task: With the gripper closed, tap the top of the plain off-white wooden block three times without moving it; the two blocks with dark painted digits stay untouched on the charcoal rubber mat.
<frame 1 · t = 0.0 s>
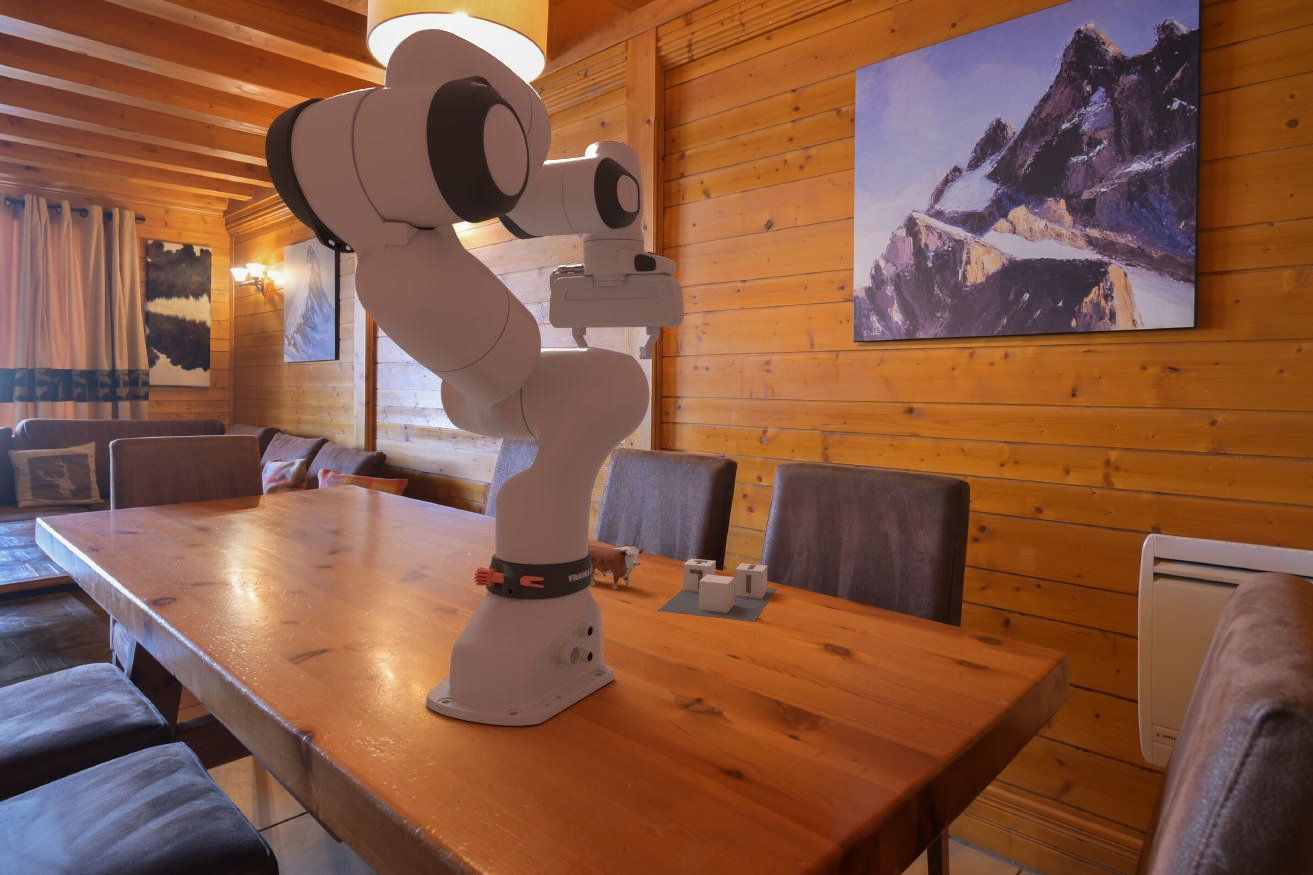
hand: (616, 359, 109), 39 cm above the table, tool pointing down, fingers open, 8 cm apart
digit block 1: (750, 593, 124), point 1 cm above the table, touching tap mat
digit block 7: (699, 588, 127), point 1 cm above the table, touching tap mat
bull figurine: (611, 590, 127), on the table
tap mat: (720, 602, 120), on the table
plain block: (716, 607, 115), point 1 cm above the table, touching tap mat
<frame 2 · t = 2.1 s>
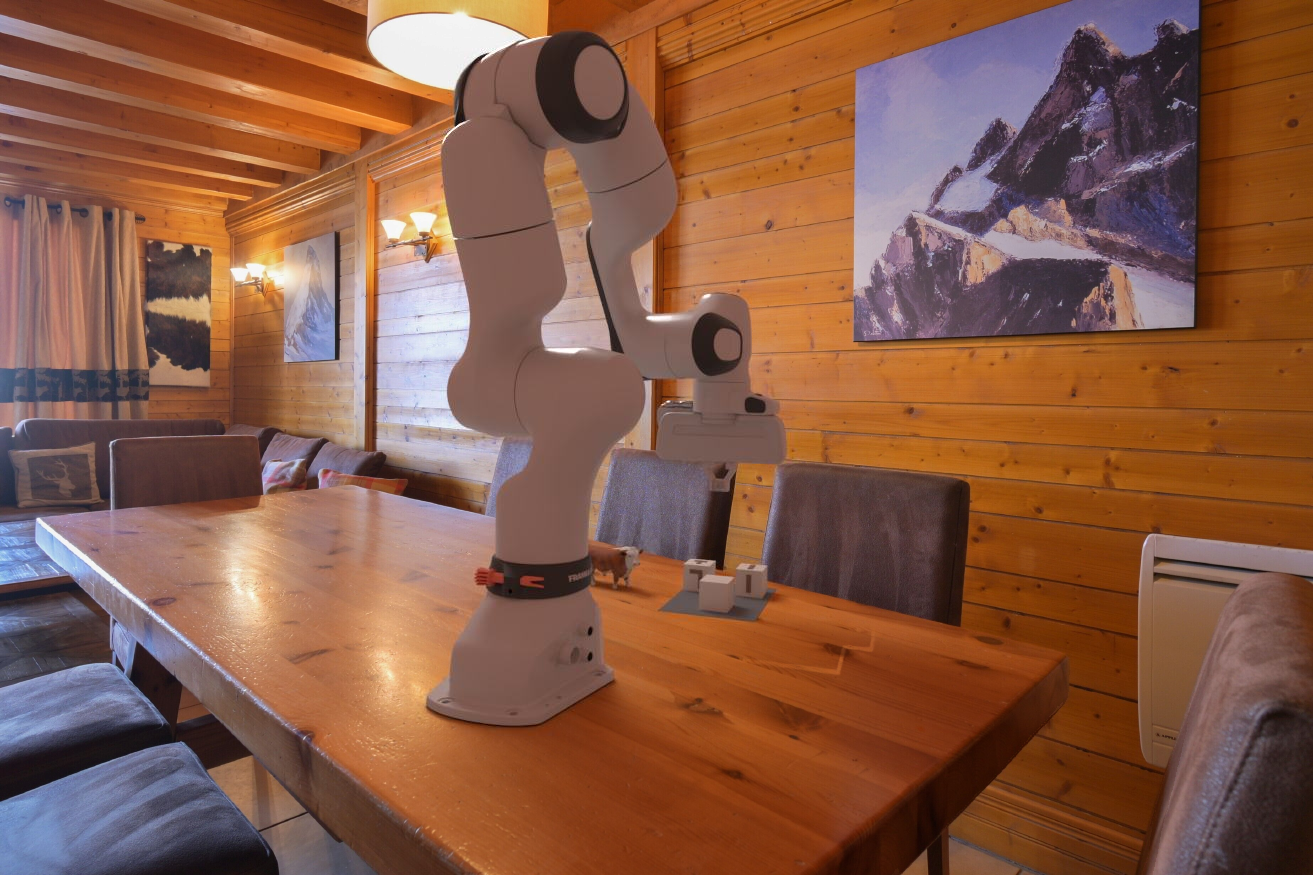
hand: (719, 490, 114), 19 cm above the table, tool pointing down, fingers closed
nothing on the table moved.
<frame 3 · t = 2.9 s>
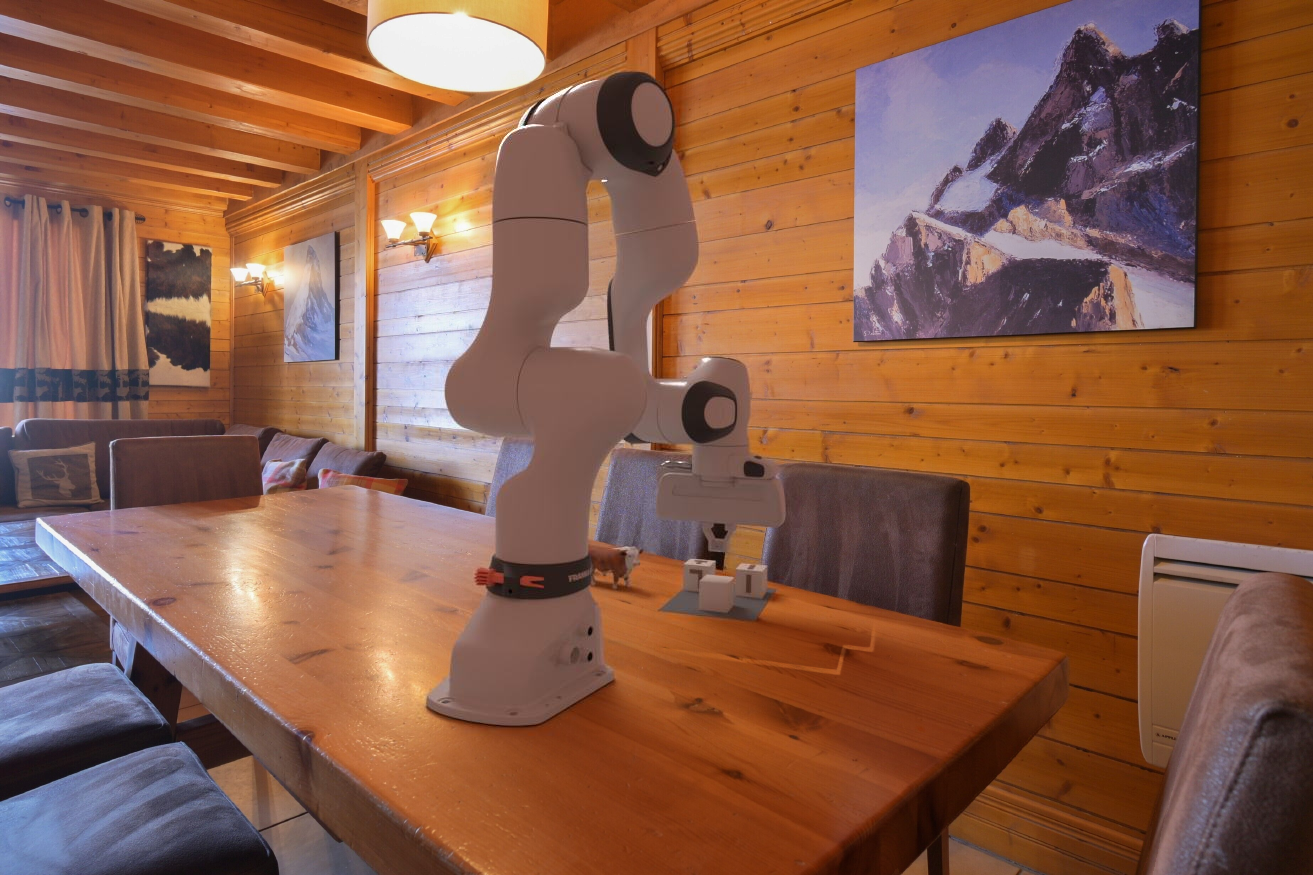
hand: (718, 551, 115), 9 cm above the table, tool pointing down, fingers closed
nothing on the table moved.
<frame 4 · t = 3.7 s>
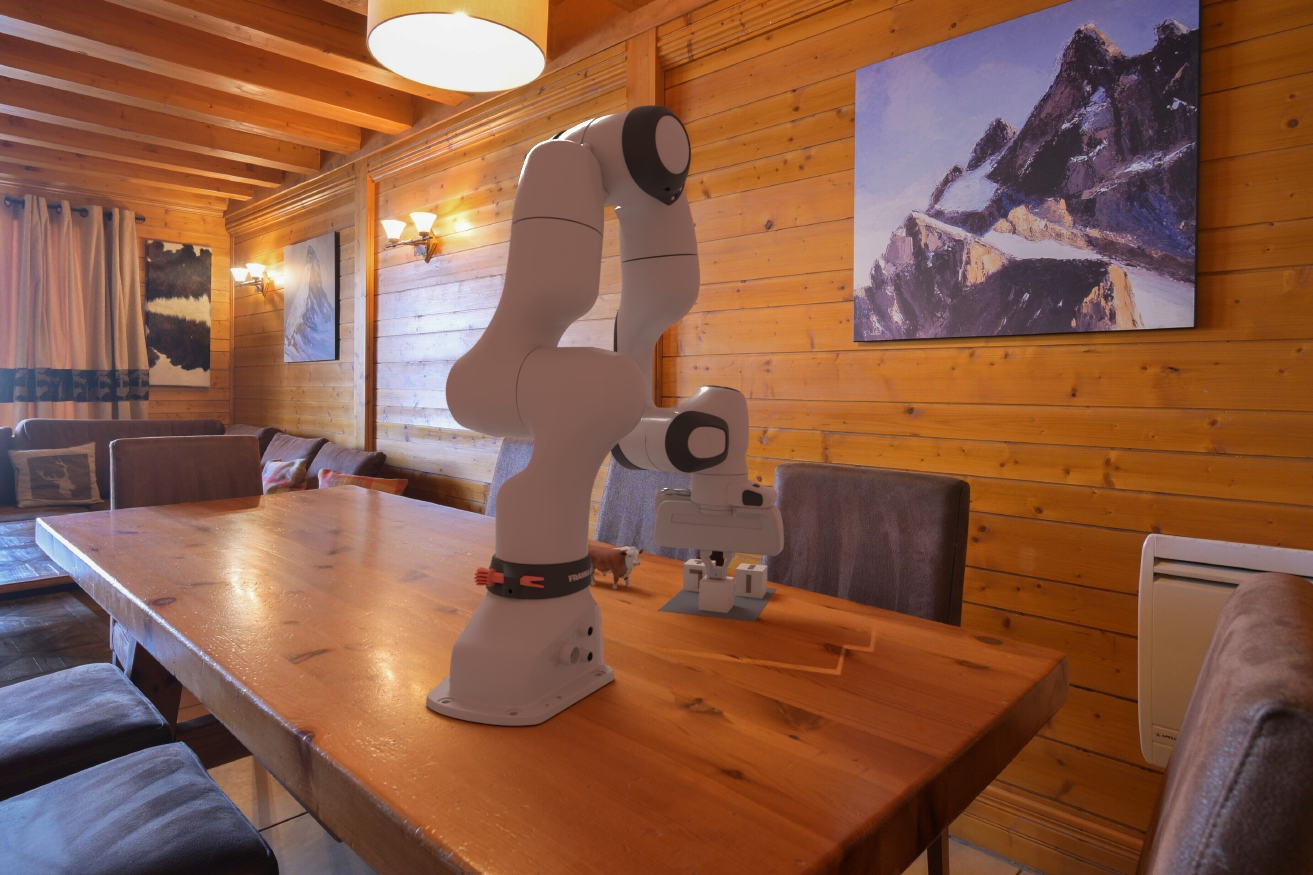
hand: (716, 578, 115), 5 cm above the table, tool pointing down, fingers closed, pressing on plain block
plain block: (716, 607, 115), point 1 cm above the table, touching gripper, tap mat
everything else where it was.
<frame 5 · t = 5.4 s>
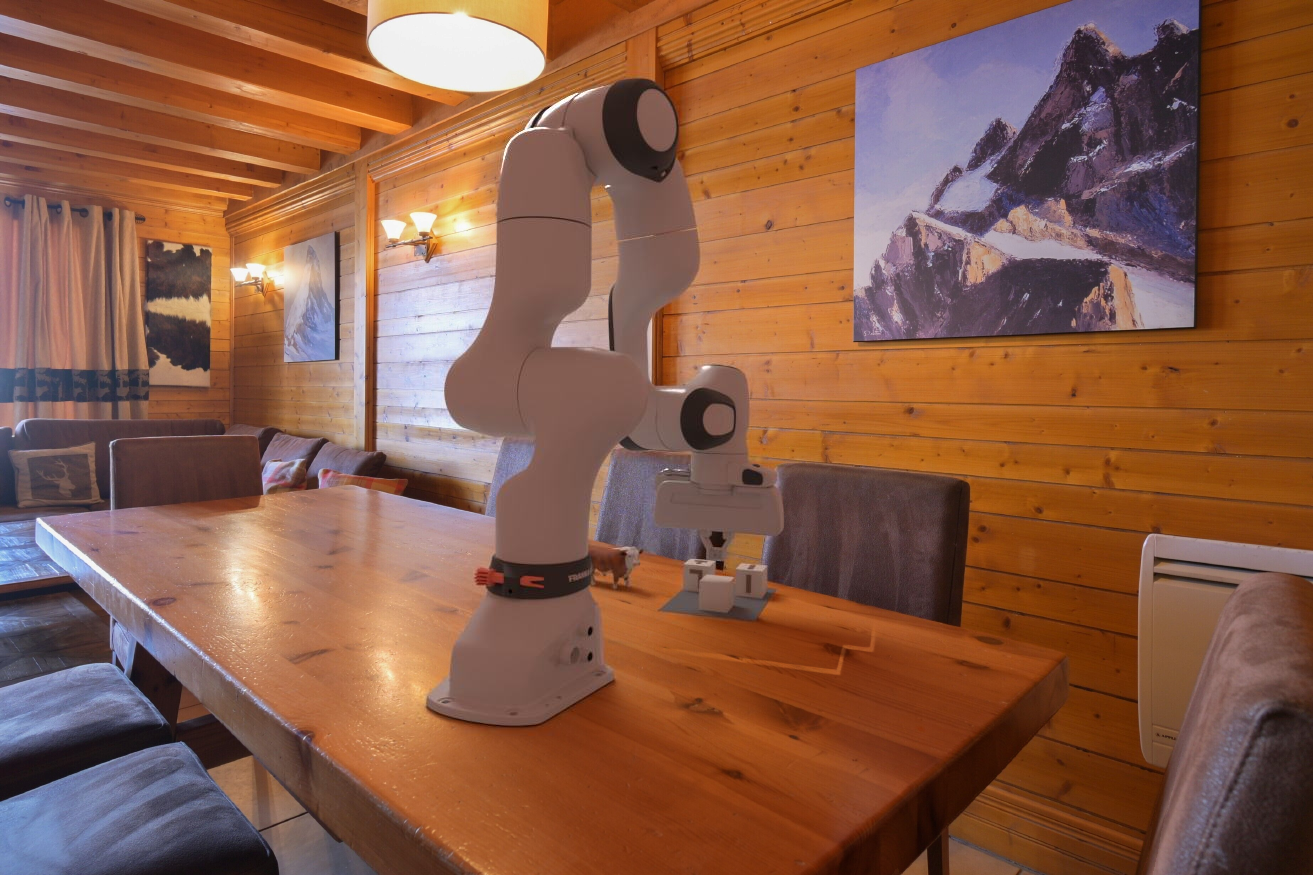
hand: (716, 559, 114), 8 cm above the table, tool pointing down, fingers closed
plain block: (716, 607, 115), point 1 cm above the table, touching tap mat
everything else where it was.
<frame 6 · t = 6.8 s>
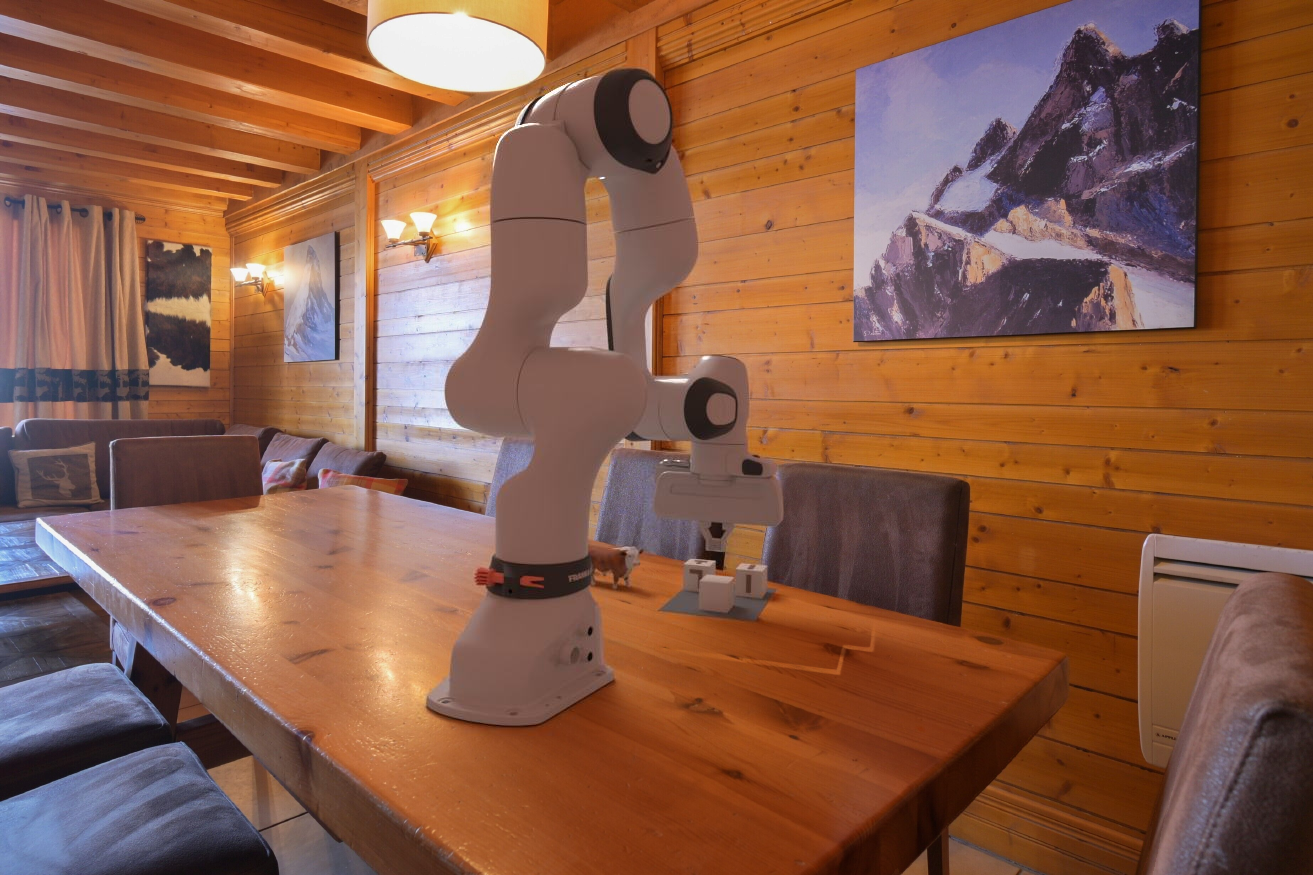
hand: (715, 550, 114), 10 cm above the table, tool pointing down, fingers closed
nothing on the table moved.
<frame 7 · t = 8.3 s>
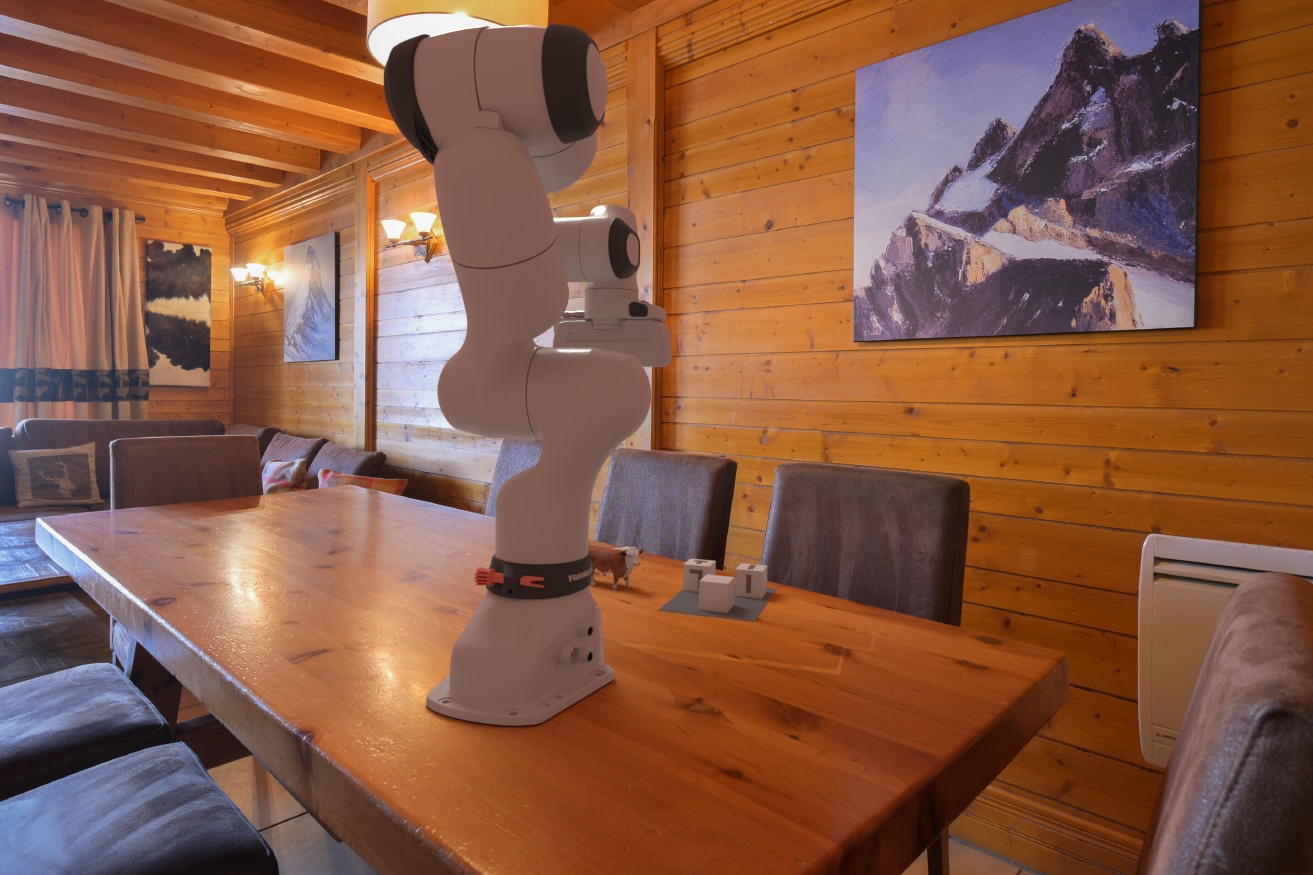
hand: (610, 394, 121), 34 cm above the table, tool pointing down, fingers closed
nothing on the table moved.
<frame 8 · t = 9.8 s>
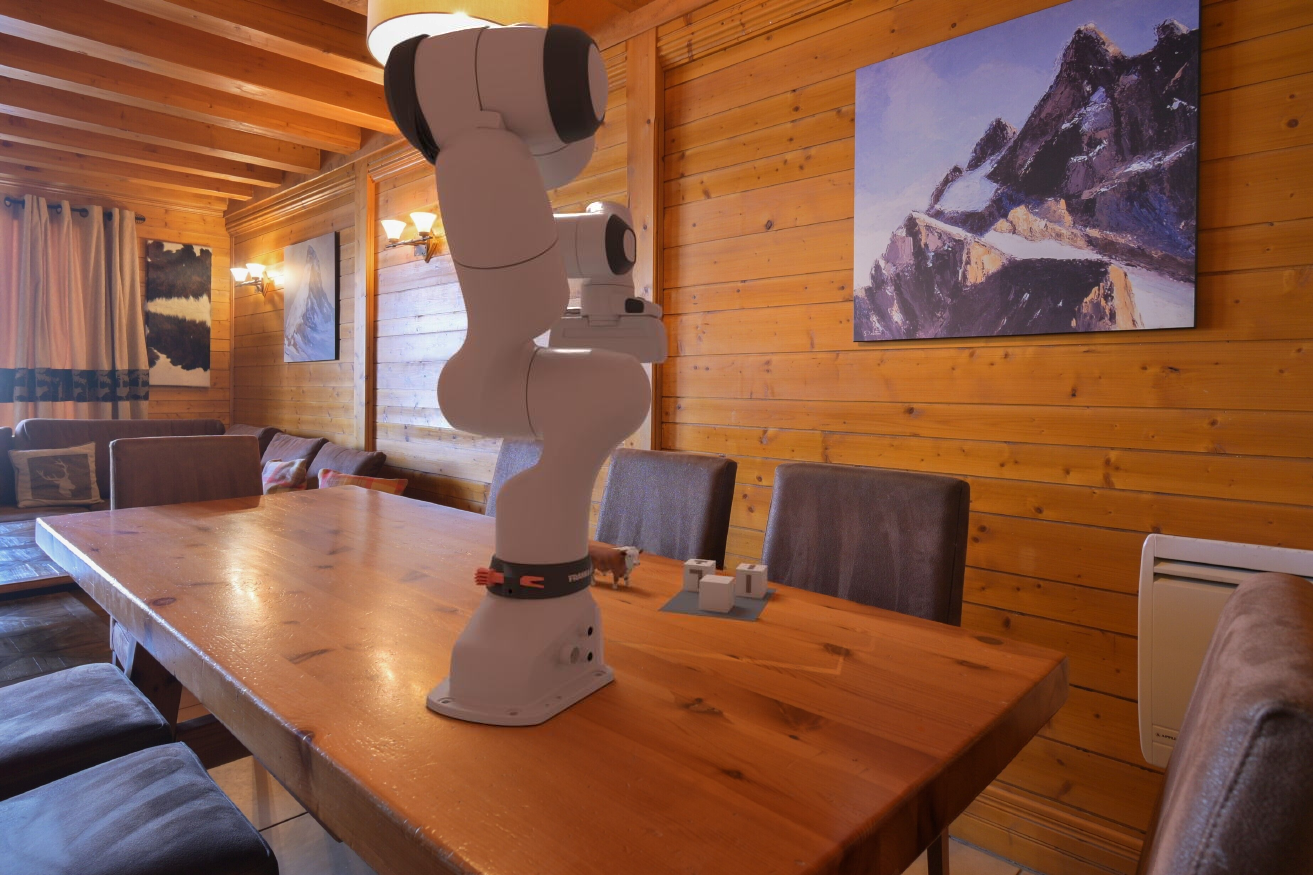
hand: (606, 391, 122), 34 cm above the table, tool pointing down, fingers closed
nothing on the table moved.
at the end: plain block moved 0.0 cm from its start; plain block tilted 0°; digit block 7 moved 0.0 cm from its start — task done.
